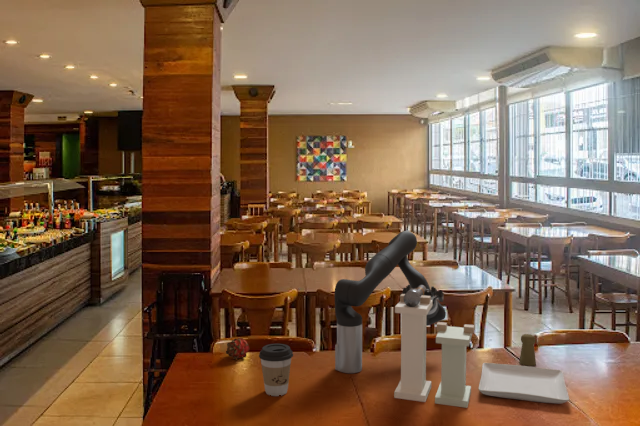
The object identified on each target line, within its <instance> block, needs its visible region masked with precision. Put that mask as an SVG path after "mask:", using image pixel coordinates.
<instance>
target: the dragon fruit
mask: <svg viewBox="0 0 640 426" xmlns="http://www.w3.org/2000/svg"><path fill="white" fill-rule="evenodd" d="M226 345H227V348H226V351H225V354H226V355H228V357H231V358H232V359H233V360H236V359H238V360H240V358H242V359H243V358H246V357H247V353H248V352H249V351H250V345H249V344H248V341H247V340H245V339H243V338H242V337H237V338H234V339H232V340H231V341H229V342H227V343H226Z"/></svg>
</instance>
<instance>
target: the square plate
mask: <svg viewBox="0 0 640 426" xmlns="http://www.w3.org/2000/svg"><path fill="white" fill-rule="evenodd" d="M480 375H481V376H480V380H479V385H478V391H479V392H480V393H481V394H483V395H485V396H490V397H497V398H504V399H511V400H512V399H513V400H520V401H526V402H528V401H529V402H534V403H545V404H559V405H560V404H564V403H567V402H568V401H570V396H569V392H568V389H567V386H566V381H565V374H564V371H563V370H561V369H553V368H546V367H537V366H525V365H520V364H519V365H517V364H507V363H506V364H505V363H493V362H483V363H482V366H481V374H480Z"/></svg>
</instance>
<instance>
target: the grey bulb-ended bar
mask: <svg viewBox="0 0 640 426" xmlns="http://www.w3.org/2000/svg"><path fill="white" fill-rule="evenodd" d="M425 292H426V287H425V286H424V285H420V286H418V288H416V289H411V290H409V291H408V292H407V293H406V294H405V295H404V303H405V304H406V305H407V306H409V307H415V306H417V305H418V303H419V302H420V300H421V295H424V293H425Z"/></svg>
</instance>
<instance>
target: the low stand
mask: <svg viewBox="0 0 640 426" xmlns="http://www.w3.org/2000/svg"><path fill="white" fill-rule="evenodd" d="M436 331H437V334H436V336H435V344H441V372H440V374H441V375H440V376H441V378H440V382H439V386H438V388H437V392H436V393H435V396H434V404H438V405H444V406H452V407H460V408H466V409H467V408H469V407H468V406H469V403H470V399H471V394H472V385H466V384H467V381H466V380H467V378H466V377H467V347H470V344H471V340H472V336H473V334H474V333H475V325H474V324H463V327H460V326H450V325H448V322H444V321H438V322H436Z"/></svg>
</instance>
